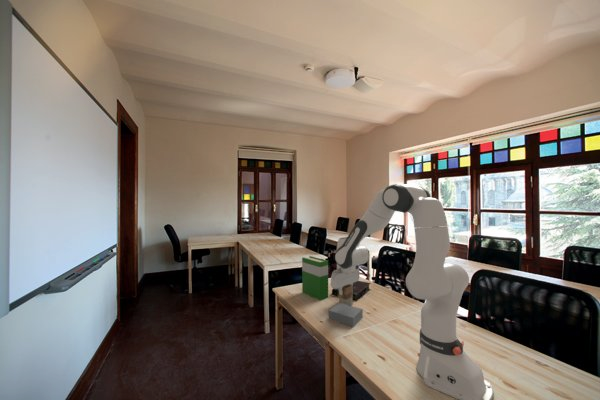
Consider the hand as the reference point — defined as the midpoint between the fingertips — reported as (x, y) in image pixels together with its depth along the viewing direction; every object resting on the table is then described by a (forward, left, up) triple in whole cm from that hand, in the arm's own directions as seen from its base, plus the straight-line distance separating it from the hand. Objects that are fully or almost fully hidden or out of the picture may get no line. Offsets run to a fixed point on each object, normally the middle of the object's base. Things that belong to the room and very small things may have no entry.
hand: (345, 292), depth 128 cm
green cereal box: (+34, -10, -14) cm, 38 cm away
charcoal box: (0, 0, -14) cm, 14 cm away
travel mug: (+12, -15, -14) cm, 24 cm away
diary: (+21, -33, -14) cm, 41 cm away
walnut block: (0, 0, -2) cm, 2 cm away
